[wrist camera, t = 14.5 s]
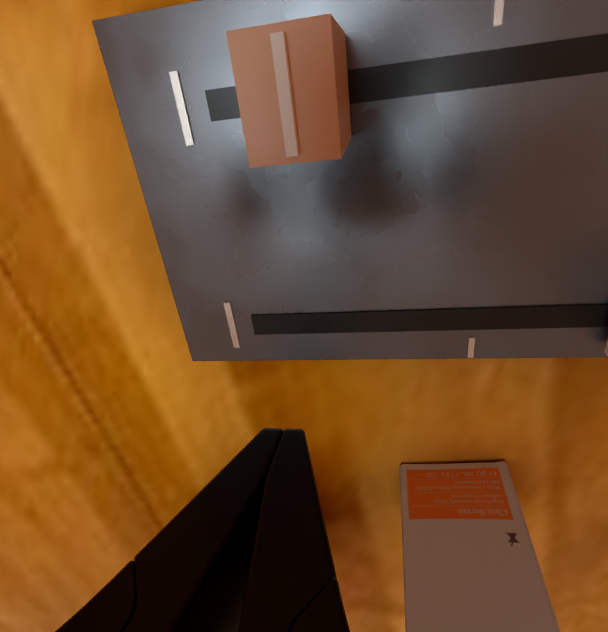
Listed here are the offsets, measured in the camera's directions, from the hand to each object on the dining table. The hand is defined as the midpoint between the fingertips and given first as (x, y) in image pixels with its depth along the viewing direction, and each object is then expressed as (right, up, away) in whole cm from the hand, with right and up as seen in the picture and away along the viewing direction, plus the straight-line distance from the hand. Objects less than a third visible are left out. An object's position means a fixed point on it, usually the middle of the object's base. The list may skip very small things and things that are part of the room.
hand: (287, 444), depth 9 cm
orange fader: (+1, +10, +5) cm, 11 cm away
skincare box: (+9, -7, +17) cm, 20 cm away
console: (+7, +8, +8) cm, 13 cm away
